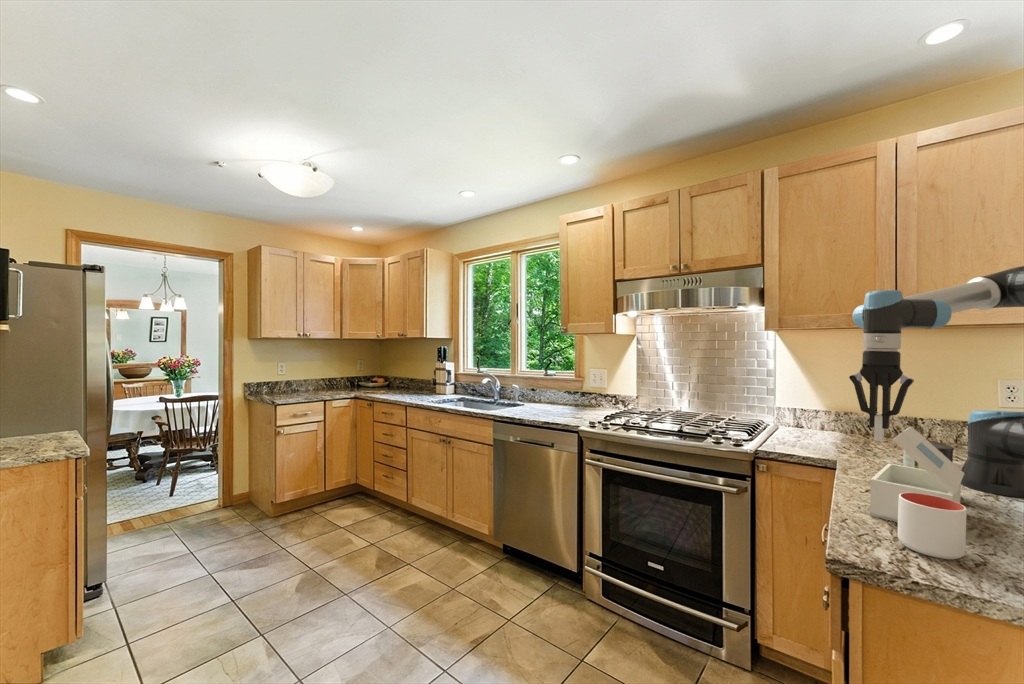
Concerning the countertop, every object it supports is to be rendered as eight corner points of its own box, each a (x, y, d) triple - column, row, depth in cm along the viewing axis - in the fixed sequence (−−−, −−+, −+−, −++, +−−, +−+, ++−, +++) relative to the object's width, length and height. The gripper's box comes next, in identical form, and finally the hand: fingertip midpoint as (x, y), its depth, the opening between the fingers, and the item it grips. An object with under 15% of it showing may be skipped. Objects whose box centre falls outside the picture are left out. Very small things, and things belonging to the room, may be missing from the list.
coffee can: (933, 489, 126) (935, 440, 126) (962, 502, 116) (964, 449, 116) (892, 486, 128) (894, 438, 128) (917, 498, 118) (919, 447, 118)
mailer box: (869, 515, 106) (870, 479, 105) (887, 495, 120) (888, 463, 120) (951, 536, 95) (952, 495, 95) (959, 511, 109) (961, 476, 109)
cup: (949, 566, 82) (951, 514, 82) (886, 542, 92) (888, 495, 91) (975, 556, 86) (976, 506, 86) (912, 535, 96) (914, 490, 95)
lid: (892, 439, 102) (896, 437, 102) (908, 427, 117) (911, 425, 116) (952, 494, 95) (956, 492, 94) (961, 474, 109) (964, 473, 109)
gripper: (846, 349, 115) (844, 437, 115) (912, 351, 105) (910, 447, 106) (853, 349, 120) (851, 434, 120) (917, 351, 110) (915, 443, 110)
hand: (878, 440), depth 113 cm, fingers closed
